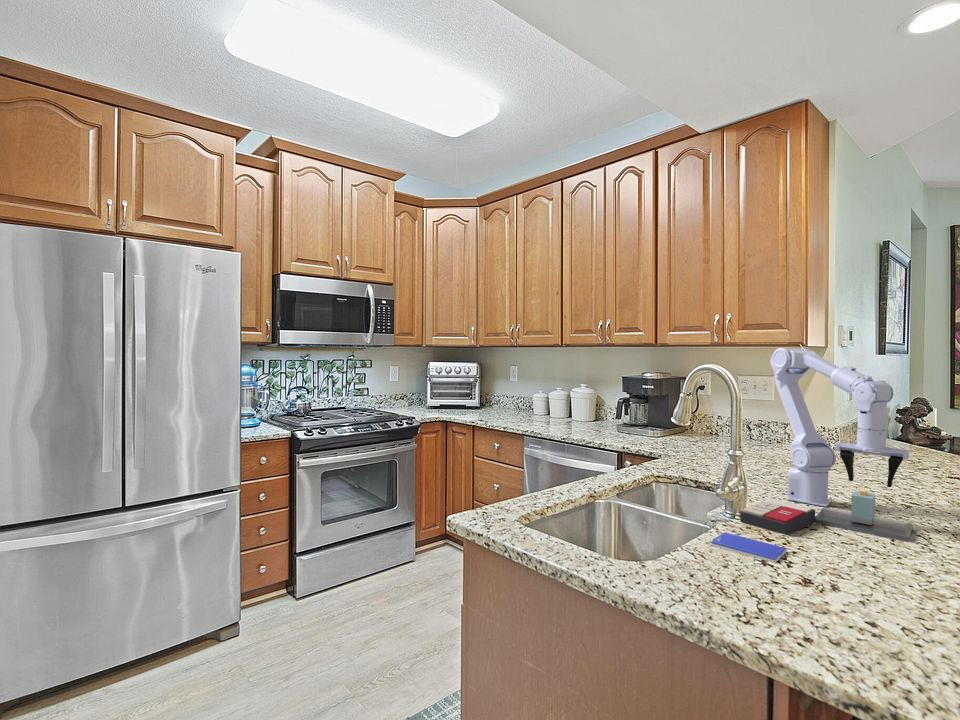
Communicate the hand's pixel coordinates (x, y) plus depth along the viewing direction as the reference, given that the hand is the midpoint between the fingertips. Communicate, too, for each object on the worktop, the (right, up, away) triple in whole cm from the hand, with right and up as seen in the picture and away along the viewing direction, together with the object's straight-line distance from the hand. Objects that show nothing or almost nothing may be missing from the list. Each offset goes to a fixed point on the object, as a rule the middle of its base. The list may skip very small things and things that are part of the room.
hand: (869, 483), depth 128 cm
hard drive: (-41, -10, -19) cm, 46 cm away
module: (-5, -8, -4) cm, 10 cm away
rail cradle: (-5, -9, -4) cm, 11 cm away
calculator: (-24, -10, -2) cm, 26 cm away
